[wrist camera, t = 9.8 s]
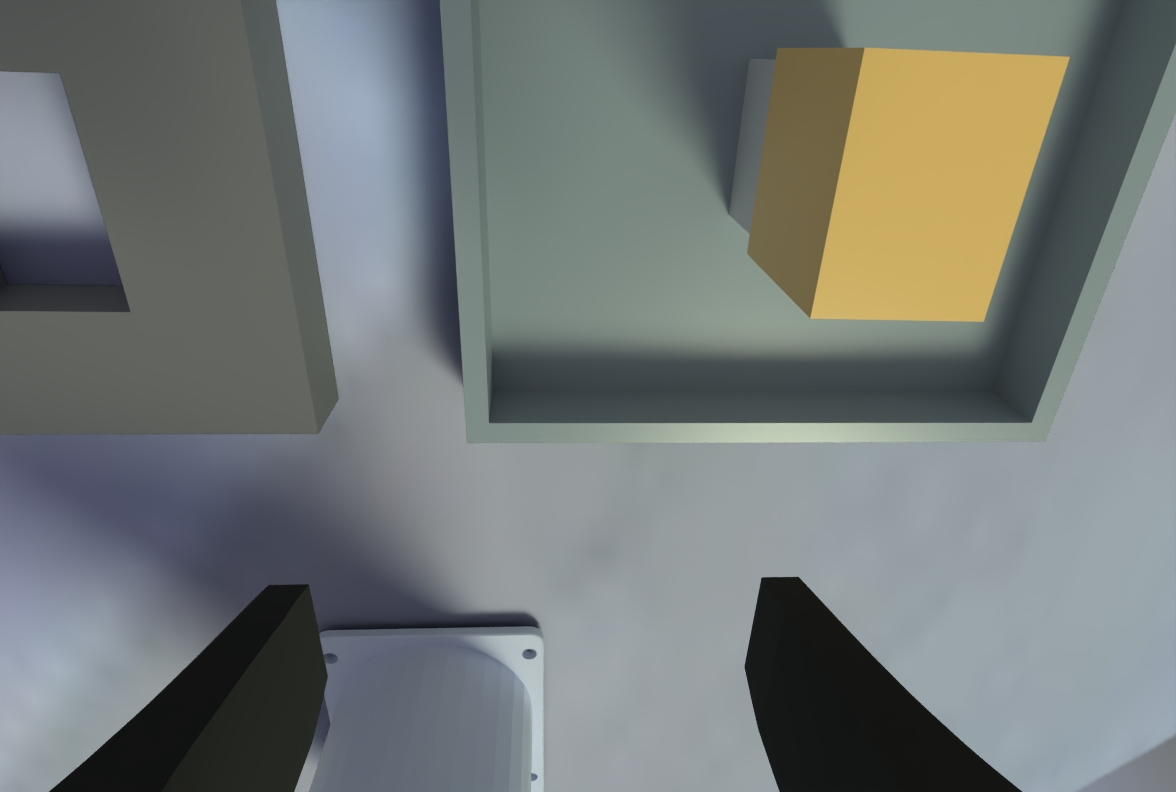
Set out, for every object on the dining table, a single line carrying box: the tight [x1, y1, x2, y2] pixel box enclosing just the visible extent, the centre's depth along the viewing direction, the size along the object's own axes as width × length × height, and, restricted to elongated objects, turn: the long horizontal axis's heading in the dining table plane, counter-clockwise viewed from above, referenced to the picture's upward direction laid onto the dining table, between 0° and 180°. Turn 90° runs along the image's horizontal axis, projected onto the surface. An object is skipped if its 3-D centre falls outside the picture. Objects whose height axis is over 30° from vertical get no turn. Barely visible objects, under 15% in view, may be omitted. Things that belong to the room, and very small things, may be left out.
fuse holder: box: [0, 0, 338, 434], centre depth 16 cm, size 12×12×2 cm
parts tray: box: [440, 0, 1176, 443], centre depth 16 cm, size 14×16×2 cm
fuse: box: [729, 48, 1070, 322], centre depth 13 cm, size 4×3×7 cm
